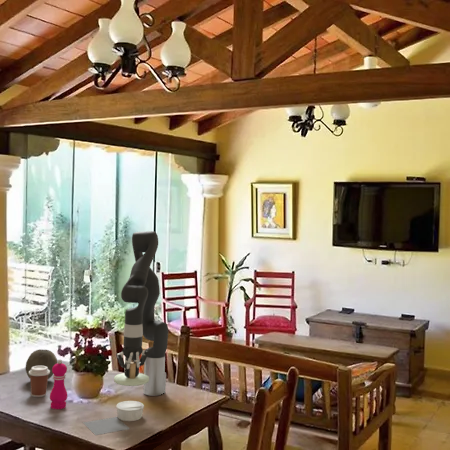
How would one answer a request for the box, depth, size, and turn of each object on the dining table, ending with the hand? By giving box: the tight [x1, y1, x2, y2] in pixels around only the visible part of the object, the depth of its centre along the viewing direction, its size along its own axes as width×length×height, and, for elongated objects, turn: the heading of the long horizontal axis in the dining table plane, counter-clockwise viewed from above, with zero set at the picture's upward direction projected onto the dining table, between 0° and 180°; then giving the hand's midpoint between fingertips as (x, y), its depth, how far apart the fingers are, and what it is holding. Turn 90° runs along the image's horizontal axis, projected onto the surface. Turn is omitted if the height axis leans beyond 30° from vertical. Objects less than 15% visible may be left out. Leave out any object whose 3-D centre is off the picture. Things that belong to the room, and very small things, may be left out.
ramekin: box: [115, 400, 145, 422], centre depth 245 cm, size 11×11×5 cm
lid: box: [113, 361, 149, 387], centre depth 244 cm, size 14×14×7 cm
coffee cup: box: [29, 366, 50, 398], centre depth 268 cm, size 9×9×12 cm
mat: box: [82, 416, 131, 436], centre depth 234 cm, size 14×14×1 cm
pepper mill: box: [49, 359, 68, 410], centre depth 253 cm, size 7×7×20 cm
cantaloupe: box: [25, 349, 58, 380], centre depth 286 cm, size 14×14×15 cm
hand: (131, 376), depth 244 cm, fingers closed on lid, 3 cm apart
